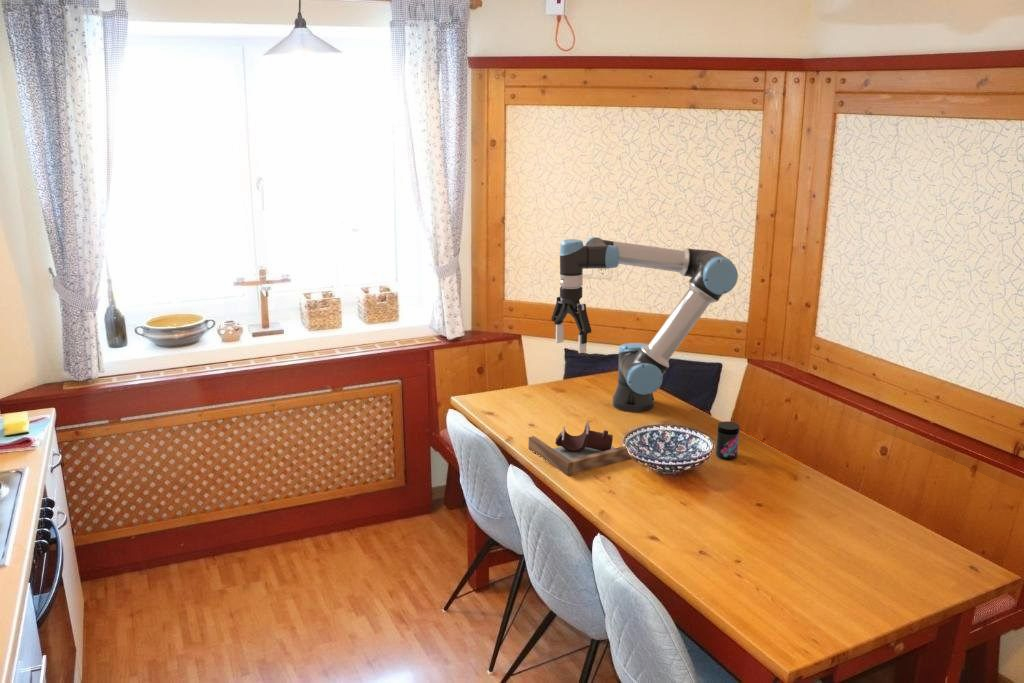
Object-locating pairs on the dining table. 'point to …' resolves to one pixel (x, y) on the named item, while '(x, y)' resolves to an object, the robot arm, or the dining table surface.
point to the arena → (580, 462)
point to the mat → (577, 454)
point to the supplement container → (727, 440)
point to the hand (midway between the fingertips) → (570, 347)
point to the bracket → (585, 440)
